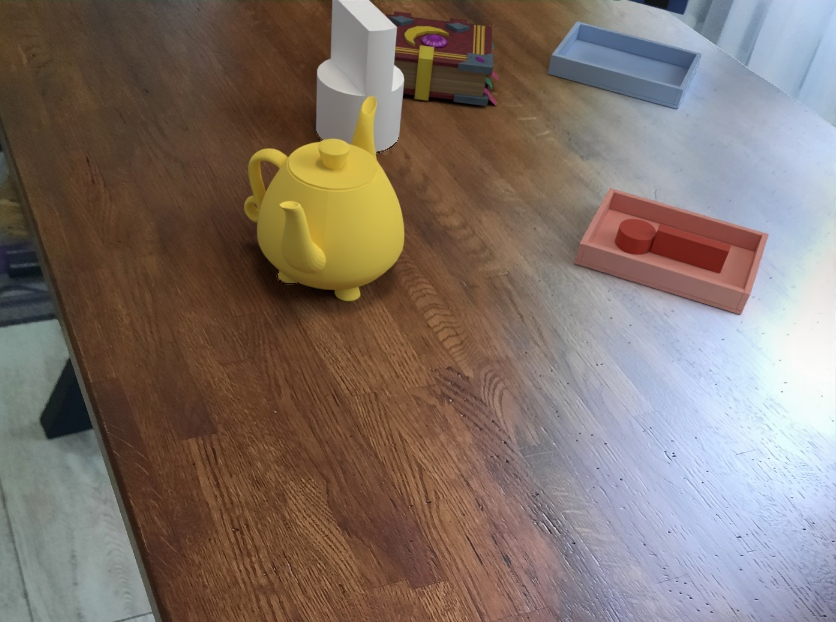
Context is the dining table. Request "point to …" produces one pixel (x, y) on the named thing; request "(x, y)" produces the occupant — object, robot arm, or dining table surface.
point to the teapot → (328, 212)
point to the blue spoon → (669, 5)
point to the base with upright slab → (359, 74)
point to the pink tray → (665, 272)
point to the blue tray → (625, 64)
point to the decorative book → (444, 58)
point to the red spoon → (671, 244)
